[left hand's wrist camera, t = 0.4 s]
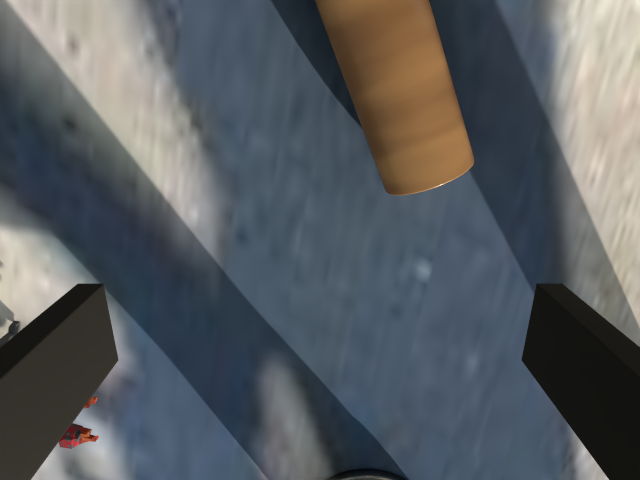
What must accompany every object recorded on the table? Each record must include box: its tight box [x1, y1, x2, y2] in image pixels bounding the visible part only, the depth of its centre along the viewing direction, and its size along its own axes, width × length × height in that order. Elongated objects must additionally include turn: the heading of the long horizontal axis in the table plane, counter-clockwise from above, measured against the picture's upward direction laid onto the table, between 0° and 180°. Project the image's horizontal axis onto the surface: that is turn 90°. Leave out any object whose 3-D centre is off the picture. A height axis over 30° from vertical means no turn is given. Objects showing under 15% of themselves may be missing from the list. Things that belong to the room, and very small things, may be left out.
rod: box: [315, 0, 474, 195], centre depth 30 cm, size 28×8×8 cm, turn 23°
